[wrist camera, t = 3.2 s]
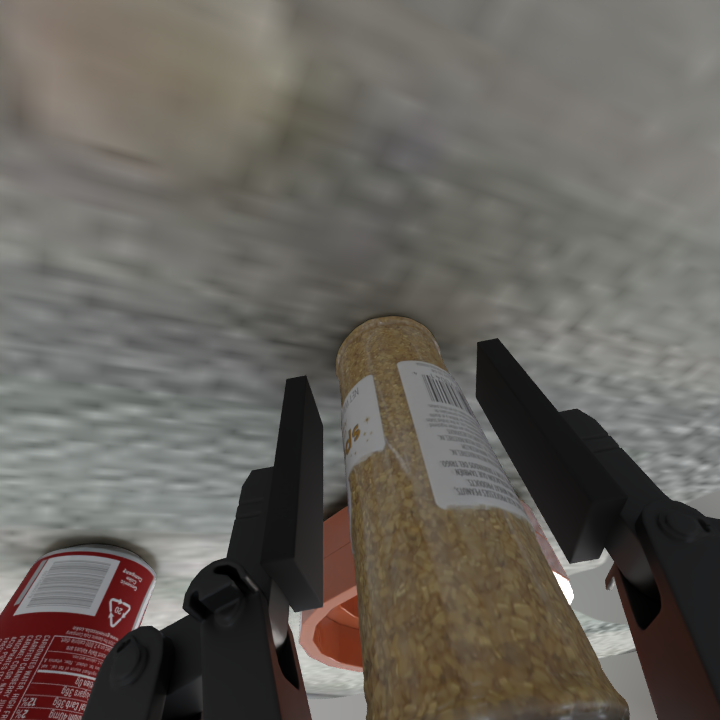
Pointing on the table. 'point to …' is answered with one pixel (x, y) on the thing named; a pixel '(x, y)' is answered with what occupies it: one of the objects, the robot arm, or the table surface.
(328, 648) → the bowl
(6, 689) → the soda can
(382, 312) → the table surface
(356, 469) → the sprinkles bottle
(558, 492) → the robot arm
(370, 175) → the table surface
